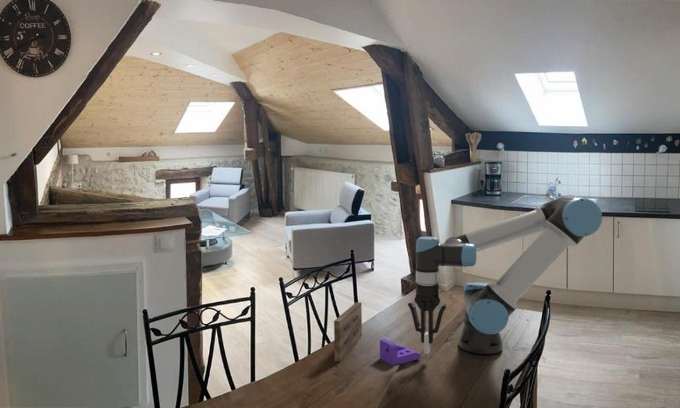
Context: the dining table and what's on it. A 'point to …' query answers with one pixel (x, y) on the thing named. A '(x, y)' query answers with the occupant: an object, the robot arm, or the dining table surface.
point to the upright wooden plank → (347, 331)
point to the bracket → (396, 353)
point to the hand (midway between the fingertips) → (427, 352)
